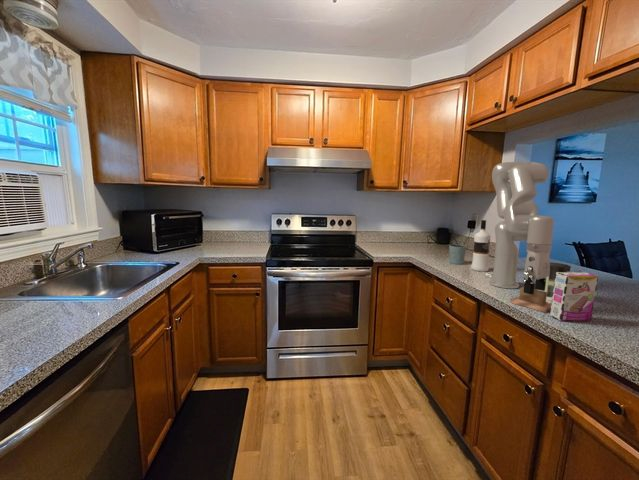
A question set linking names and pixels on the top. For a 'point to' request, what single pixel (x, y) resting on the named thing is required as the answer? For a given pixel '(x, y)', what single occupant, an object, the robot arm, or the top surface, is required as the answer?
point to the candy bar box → (573, 296)
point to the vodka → (481, 249)
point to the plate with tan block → (533, 300)
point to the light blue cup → (457, 254)
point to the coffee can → (551, 278)
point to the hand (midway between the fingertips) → (534, 291)
